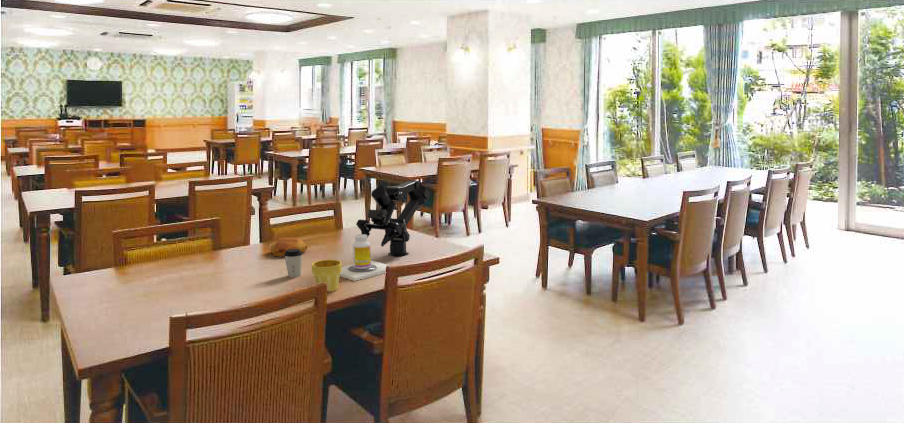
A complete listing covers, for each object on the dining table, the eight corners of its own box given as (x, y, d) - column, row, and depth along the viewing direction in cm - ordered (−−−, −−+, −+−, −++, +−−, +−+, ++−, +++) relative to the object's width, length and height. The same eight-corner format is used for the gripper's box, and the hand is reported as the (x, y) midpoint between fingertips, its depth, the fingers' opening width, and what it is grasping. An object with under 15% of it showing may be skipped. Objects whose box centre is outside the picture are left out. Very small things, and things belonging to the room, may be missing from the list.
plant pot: (316, 295, 215) (314, 268, 214) (310, 287, 225) (308, 261, 223) (345, 291, 220) (344, 264, 218) (338, 284, 229) (337, 258, 227)
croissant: (279, 253, 283) (276, 236, 281) (311, 250, 279) (308, 232, 278) (264, 261, 268) (261, 243, 267) (298, 257, 265) (295, 239, 264)
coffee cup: (307, 274, 242) (306, 249, 240) (297, 279, 235) (295, 253, 233) (291, 272, 244) (290, 247, 242) (281, 277, 238) (279, 252, 236)
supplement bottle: (373, 268, 243) (371, 236, 241) (356, 270, 240) (355, 238, 238) (368, 264, 249) (367, 232, 247) (351, 266, 246) (350, 234, 244)
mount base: (369, 262, 257) (369, 259, 257) (395, 269, 247) (395, 266, 246) (329, 273, 243) (329, 269, 243) (355, 281, 232) (355, 277, 232)
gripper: (357, 199, 255) (343, 232, 247) (397, 202, 247) (384, 236, 240) (368, 215, 263) (355, 246, 256) (407, 218, 256) (395, 251, 248)
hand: (371, 244), depth 250 cm, fingers open, 9 cm apart
